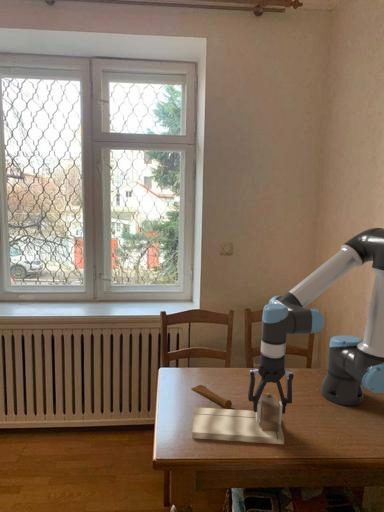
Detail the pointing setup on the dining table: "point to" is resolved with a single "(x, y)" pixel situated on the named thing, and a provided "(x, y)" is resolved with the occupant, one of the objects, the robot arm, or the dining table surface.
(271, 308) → the robot arm
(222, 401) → the primitive tool
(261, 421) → the beige drawer
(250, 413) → the board
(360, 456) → the dining table surface
